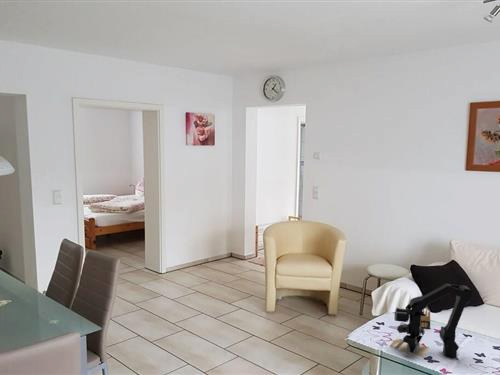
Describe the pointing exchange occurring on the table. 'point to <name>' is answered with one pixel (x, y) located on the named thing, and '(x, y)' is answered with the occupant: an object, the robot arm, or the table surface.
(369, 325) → the table surface
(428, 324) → the ammunition clip
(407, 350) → the box
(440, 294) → the robot arm
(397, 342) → the board
